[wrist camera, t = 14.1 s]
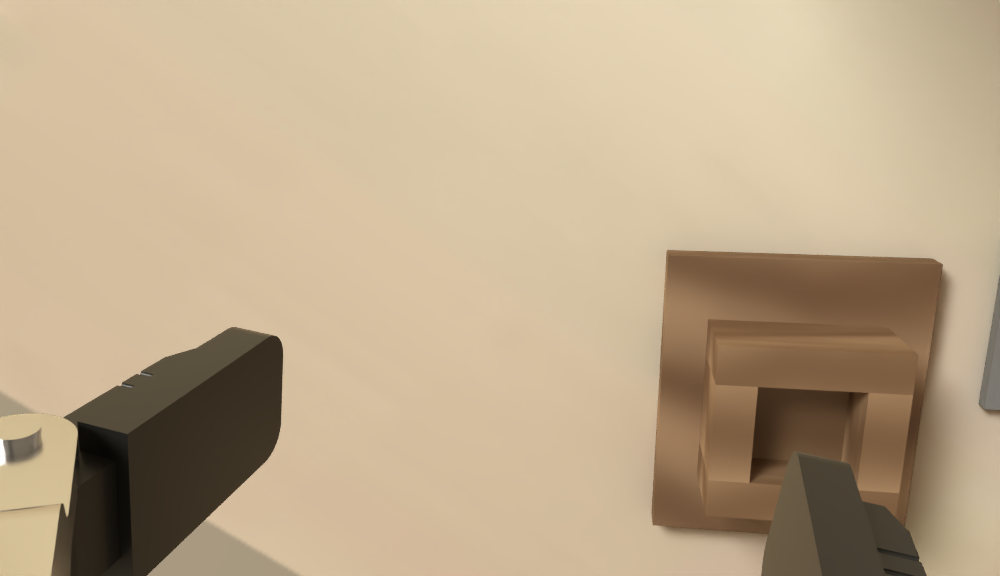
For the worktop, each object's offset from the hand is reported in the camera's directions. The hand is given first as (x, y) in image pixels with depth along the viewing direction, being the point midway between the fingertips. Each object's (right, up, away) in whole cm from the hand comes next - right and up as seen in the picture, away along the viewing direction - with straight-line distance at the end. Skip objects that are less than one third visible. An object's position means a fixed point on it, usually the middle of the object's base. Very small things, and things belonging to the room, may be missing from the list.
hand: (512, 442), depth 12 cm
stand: (+14, -3, +27) cm, 31 cm away
